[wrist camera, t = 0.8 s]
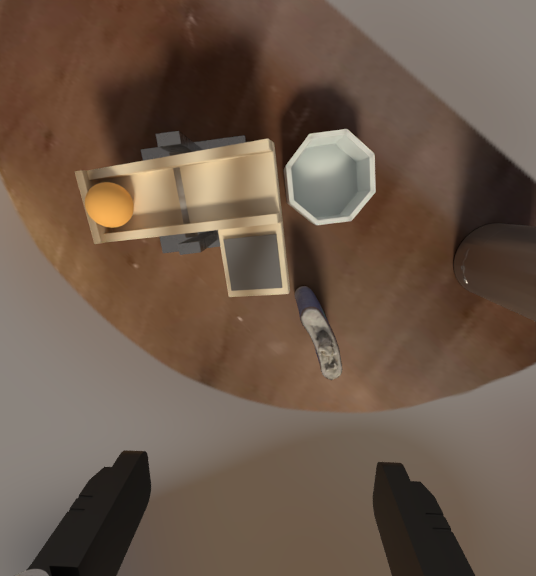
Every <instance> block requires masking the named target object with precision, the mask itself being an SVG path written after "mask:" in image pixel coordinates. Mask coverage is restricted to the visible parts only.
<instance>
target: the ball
mask: <svg viewBox="0 0 536 576" xmlns="http://www.w3.org/2000/svg"><path fill="white" fill-rule="evenodd" d="M85 208H86V211H87V213H88V215H89V216H90V217H91V218H92V219H93V220H94V221H95V222H96V223H98V224H100V225H102V226H105V227H111V228H112V227H119V226H122V225H124V224H126V223H127V222H128V221H129V220H130V219H131V217H132V215H133V212H134V203H133V200H132V198H131V196H130V194H129V193H128V192H127V191H126V190H125V189H124V188H123V187H121V186H120V185H117V184H115V183H110V182H102V183H98V184H96V185H94V186H93V187H91V188H90V189H89V191H88V192H87V194H86V197H85Z"/></svg>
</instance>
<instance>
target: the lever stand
mask: <svg viewBox="0 0 536 576" xmlns="http://www.w3.org/2000/svg"><path fill="white" fill-rule="evenodd" d="M156 138H157V143H158V147H156V148H148V149H141V153H142V158H143V161H145V160H150V159H156V158H162V157H167V156H170V155H169V153H171V152H183V154H184V153H190V152H195V151H201V150H207V149H212V148H218V147H223V146H229V145H235V144H240V143H246V137H245V135H244V136H236V137H229V138H222V139H214V140H207V141H200V142H193V141H191V140H190V139H189V138H187V137H186V136H185V135H183V134H182V133H181V132H180V131H174V132H167V133H160V134H156ZM197 233H198V236H195V237H189V238H186V237H185V234H176V235H167V236H159V237H160V241H161V246H162V251H163V253H169V252H177V251H179V253H180V255H182V254H190V253H198V252H202V251H203V250H205V249H206V248H210V247H218V246H220V240H219V234H218V230H213V231H204V232H197Z"/></svg>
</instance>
